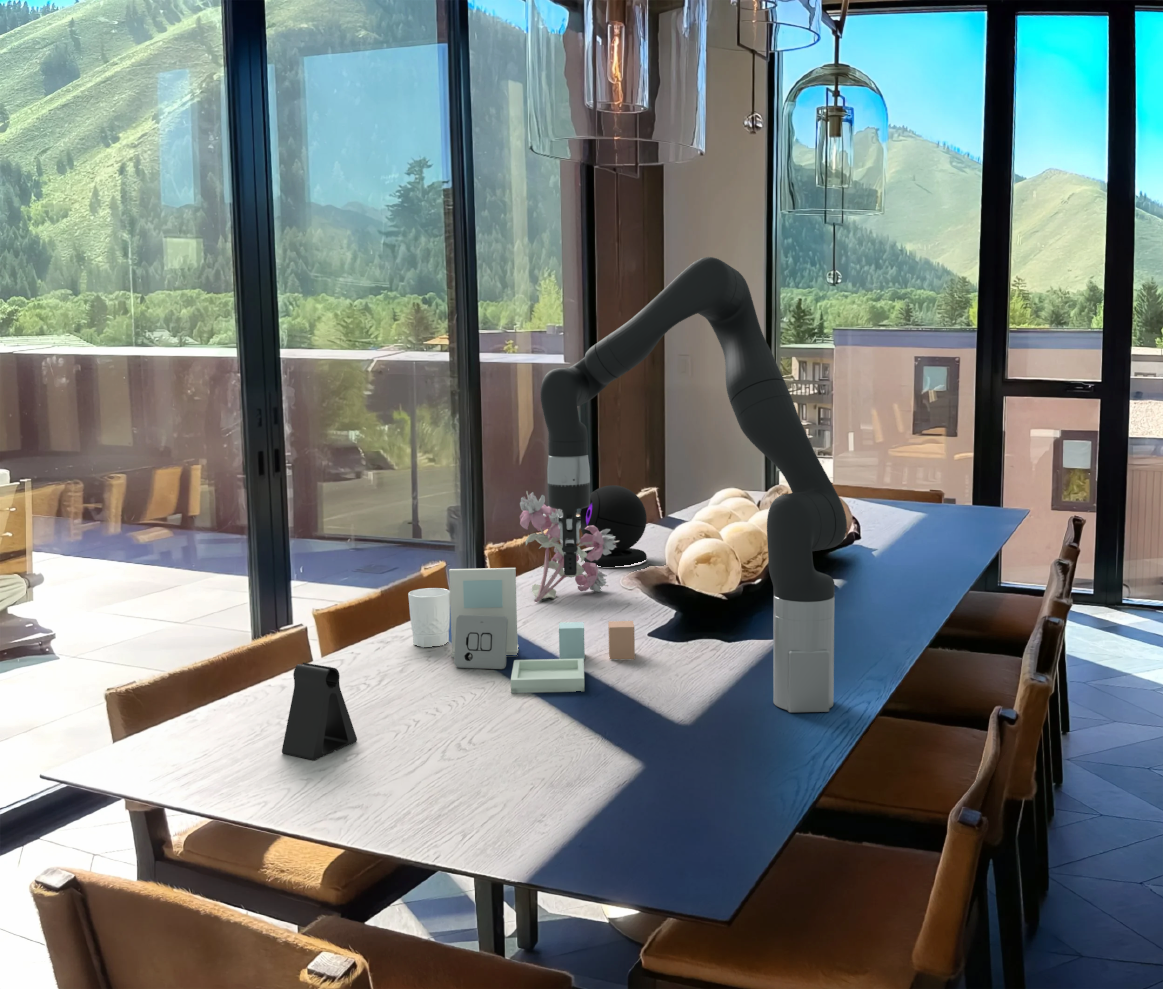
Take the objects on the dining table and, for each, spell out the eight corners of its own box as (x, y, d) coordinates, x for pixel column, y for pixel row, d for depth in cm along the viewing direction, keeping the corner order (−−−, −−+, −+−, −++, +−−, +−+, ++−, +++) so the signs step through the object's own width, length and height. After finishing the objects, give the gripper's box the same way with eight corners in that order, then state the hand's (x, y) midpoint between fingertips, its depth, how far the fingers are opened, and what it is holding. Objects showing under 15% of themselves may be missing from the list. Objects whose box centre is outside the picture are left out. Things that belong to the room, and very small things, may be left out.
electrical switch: (453, 668, 204) (453, 616, 204) (462, 663, 209) (462, 612, 209) (504, 671, 202) (504, 618, 202) (512, 665, 207) (512, 614, 207)
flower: (605, 604, 245) (620, 492, 252) (501, 592, 248) (519, 482, 255) (612, 624, 264) (627, 519, 271) (516, 612, 267) (533, 509, 274)
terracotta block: (634, 659, 208) (634, 626, 207) (609, 660, 208) (609, 627, 207) (633, 653, 212) (633, 620, 211) (608, 653, 212) (608, 621, 211)
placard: (517, 656, 211) (515, 569, 209) (451, 657, 211) (448, 571, 209) (518, 648, 216) (516, 564, 214) (454, 650, 216) (451, 566, 214)
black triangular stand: (326, 735, 170) (322, 655, 169) (357, 741, 167) (353, 660, 166) (281, 754, 163) (277, 671, 161) (312, 761, 160) (308, 676, 158)
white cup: (401, 646, 220) (399, 594, 219) (426, 636, 227) (424, 586, 226) (436, 650, 216) (434, 598, 215) (459, 640, 223) (458, 589, 222)
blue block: (584, 660, 208) (584, 628, 207) (559, 661, 208) (558, 628, 207) (584, 654, 212) (583, 622, 211) (559, 654, 212) (559, 622, 211)
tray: (584, 691, 189) (584, 678, 189) (511, 693, 189) (510, 679, 189) (583, 670, 201) (583, 658, 201) (514, 672, 201) (514, 660, 201)
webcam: (572, 558, 306) (571, 483, 303) (633, 554, 311) (632, 480, 308) (593, 570, 289) (591, 491, 287) (656, 565, 294) (656, 487, 292)
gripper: (590, 485, 199) (592, 578, 201) (589, 475, 213) (590, 562, 215) (546, 486, 199) (548, 578, 201) (548, 476, 213) (550, 563, 215)
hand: (570, 570), depth 208 cm, fingers open, 8 cm apart
